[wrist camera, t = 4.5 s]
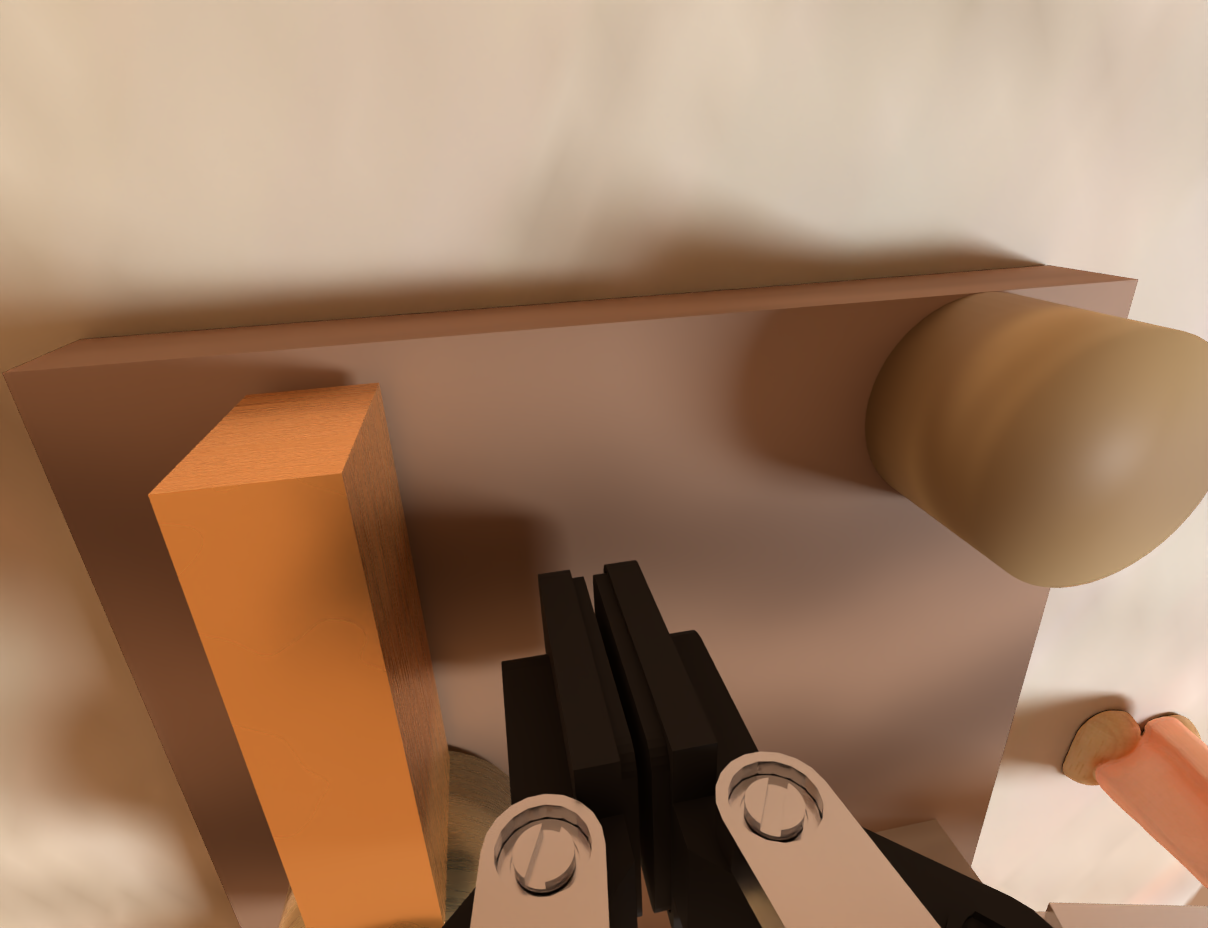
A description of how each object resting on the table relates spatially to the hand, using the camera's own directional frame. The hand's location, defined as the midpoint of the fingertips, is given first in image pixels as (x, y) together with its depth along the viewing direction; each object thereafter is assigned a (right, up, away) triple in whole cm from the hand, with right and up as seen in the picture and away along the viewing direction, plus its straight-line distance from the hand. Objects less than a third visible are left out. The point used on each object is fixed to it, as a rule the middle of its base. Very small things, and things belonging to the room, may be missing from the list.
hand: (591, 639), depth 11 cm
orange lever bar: (-4, -1, +1) cm, 4 cm away
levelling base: (+1, -3, +5) cm, 6 cm away
